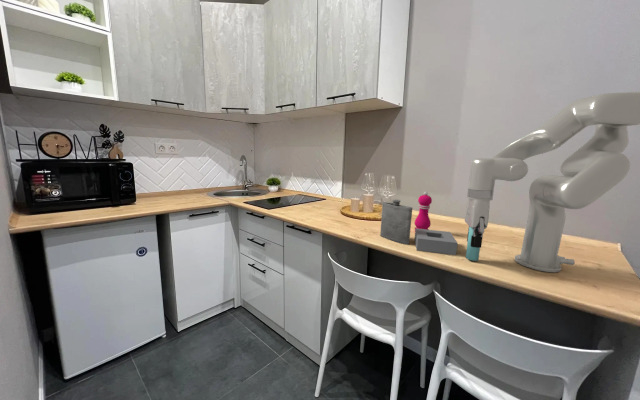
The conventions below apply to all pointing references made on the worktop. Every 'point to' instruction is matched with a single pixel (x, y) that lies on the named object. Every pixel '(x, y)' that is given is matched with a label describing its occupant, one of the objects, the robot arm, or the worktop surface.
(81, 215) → the worktop surface
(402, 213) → the flask
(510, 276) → the worktop surface
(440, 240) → the socket block
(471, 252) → the peg
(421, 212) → the pepper mill
